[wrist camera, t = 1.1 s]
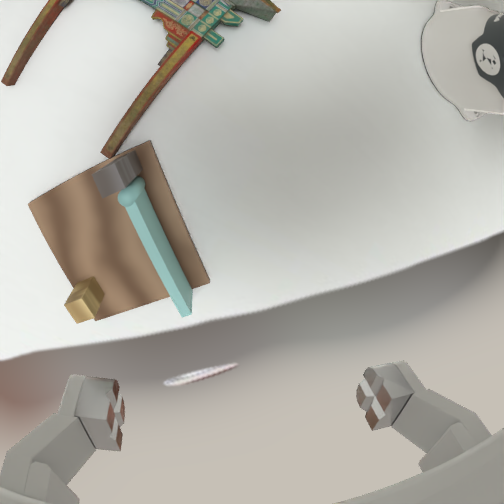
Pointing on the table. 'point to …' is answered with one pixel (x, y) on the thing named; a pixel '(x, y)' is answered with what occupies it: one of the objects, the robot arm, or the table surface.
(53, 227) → the gate frame
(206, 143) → the table surface
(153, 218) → the gate
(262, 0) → the miniature gate
